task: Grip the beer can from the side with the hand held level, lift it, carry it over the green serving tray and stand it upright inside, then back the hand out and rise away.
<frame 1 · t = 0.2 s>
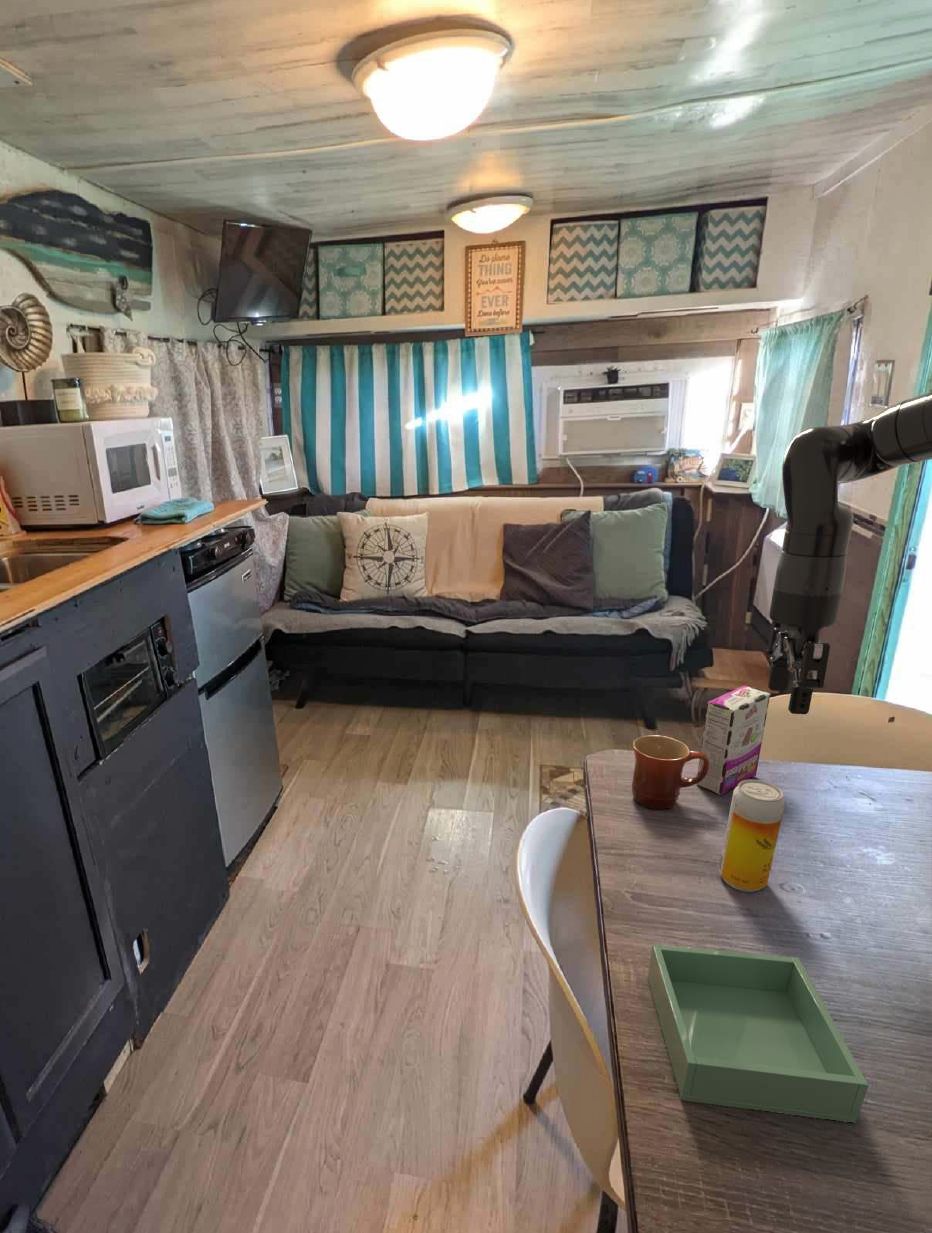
hand: (786, 701, 95), 25 cm above the table, tool pointing down, fingers open, 8 cm apart
beer can: (741, 881, 98), on the table
mug: (663, 801, 117), on the table
green serving tray: (739, 1042, 74), on the table
candy bar box: (724, 781, 122), on the table
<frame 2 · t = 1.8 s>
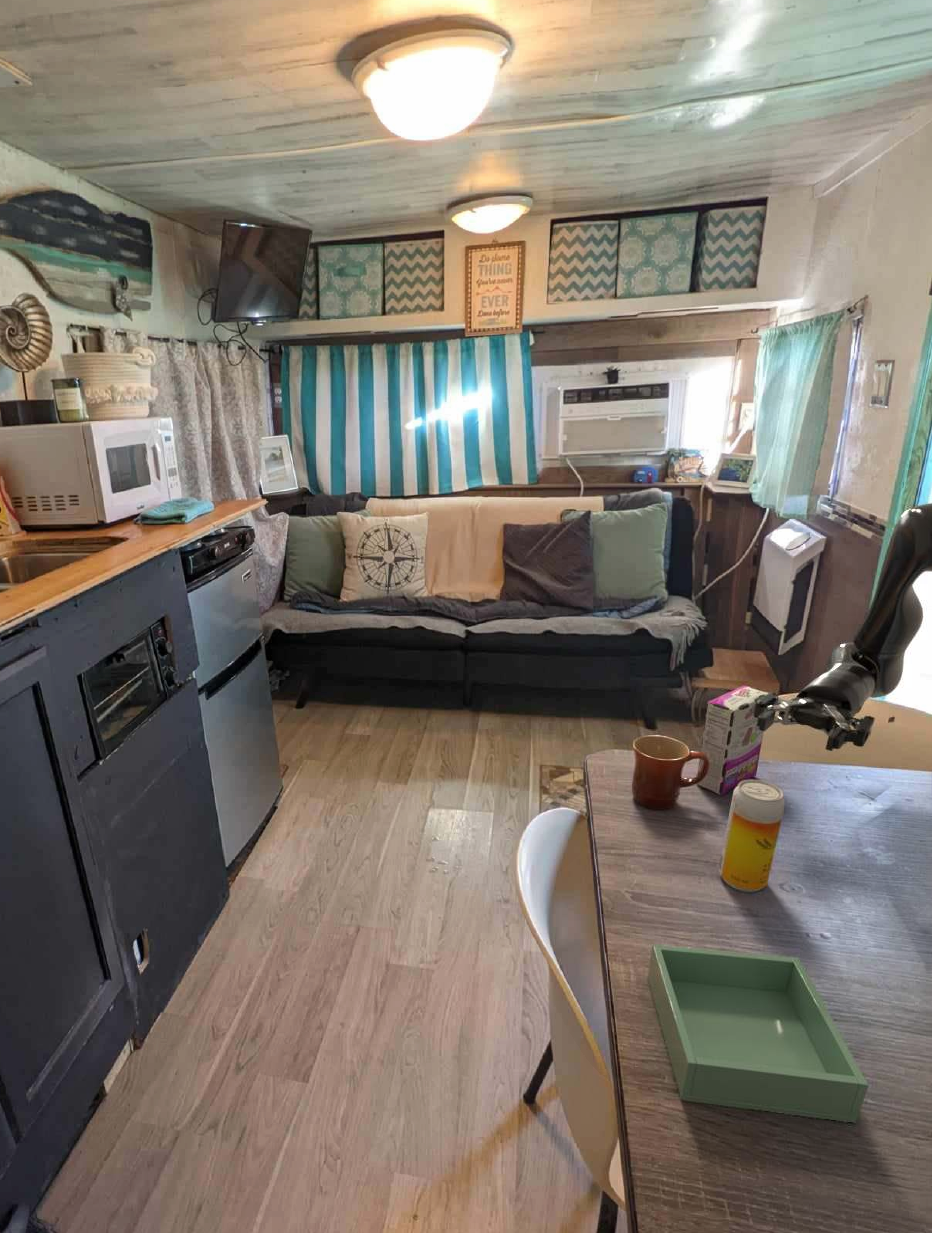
hand: (795, 734, 97), 19 cm above the table, tool horizontal, fingers open, 8 cm apart
nothing on the table moved.
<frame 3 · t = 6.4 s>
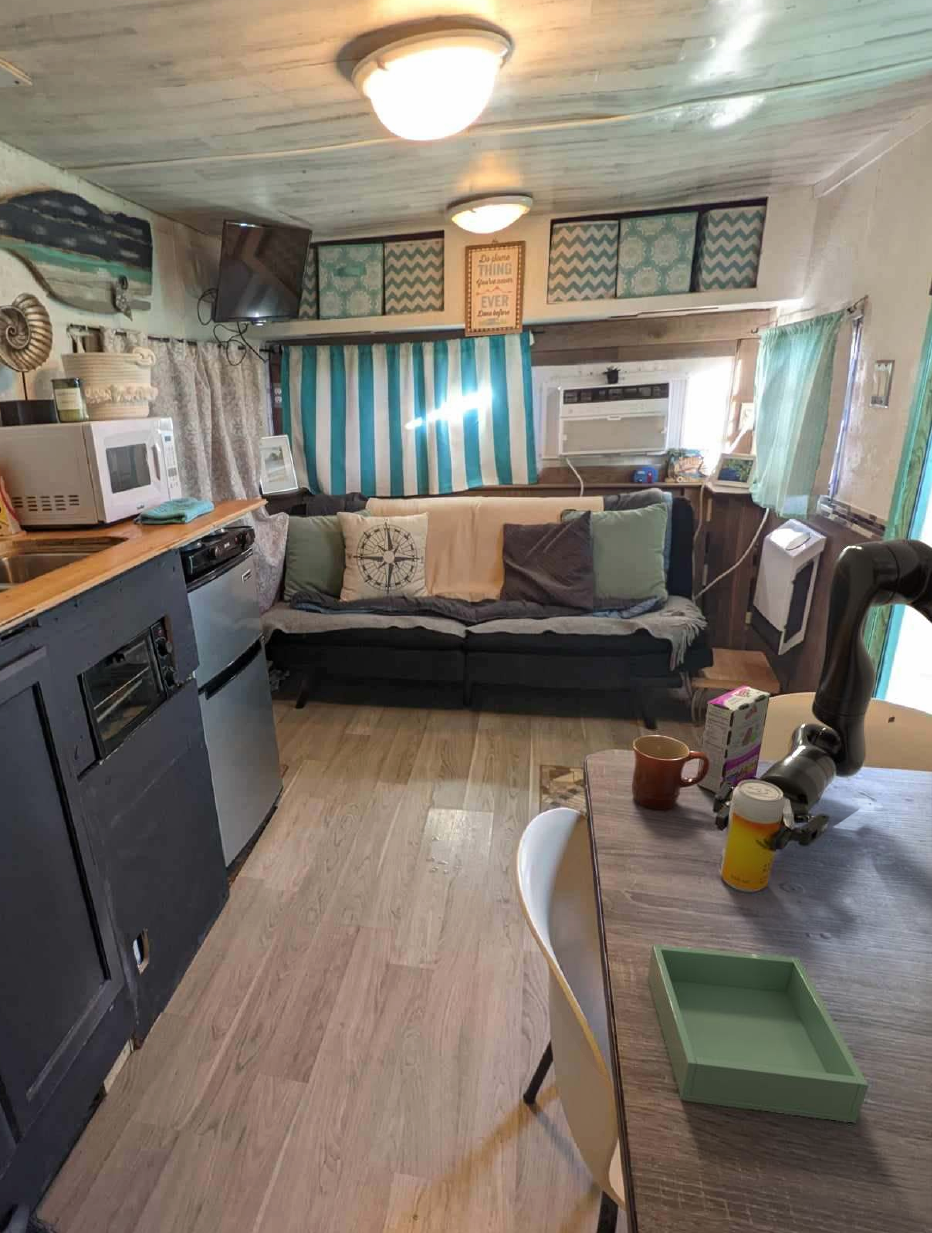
hand: (746, 834, 93), 9 cm above the table, tool horizontal, fingers closed on beer can, 6 cm apart
beer can: (741, 881, 98), on the table, touching gripper
everything else where it was.
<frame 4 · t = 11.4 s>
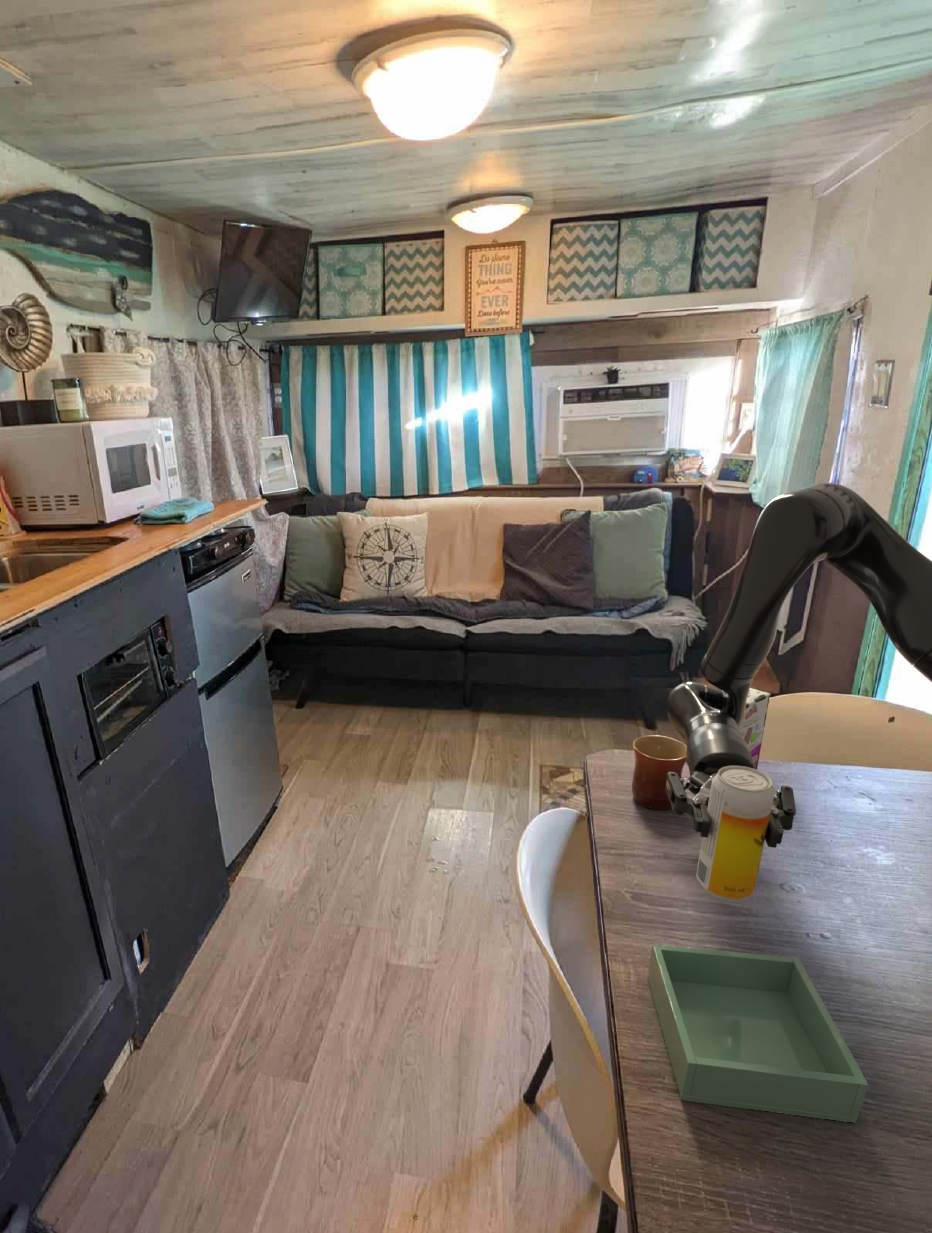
hand: (739, 835, 76), 20 cm above the table, tool horizontal, fingers closed on beer can, 6 cm apart
beer can: (723, 888, 81), point 10 cm above the table, touching gripper
everything else where it was.
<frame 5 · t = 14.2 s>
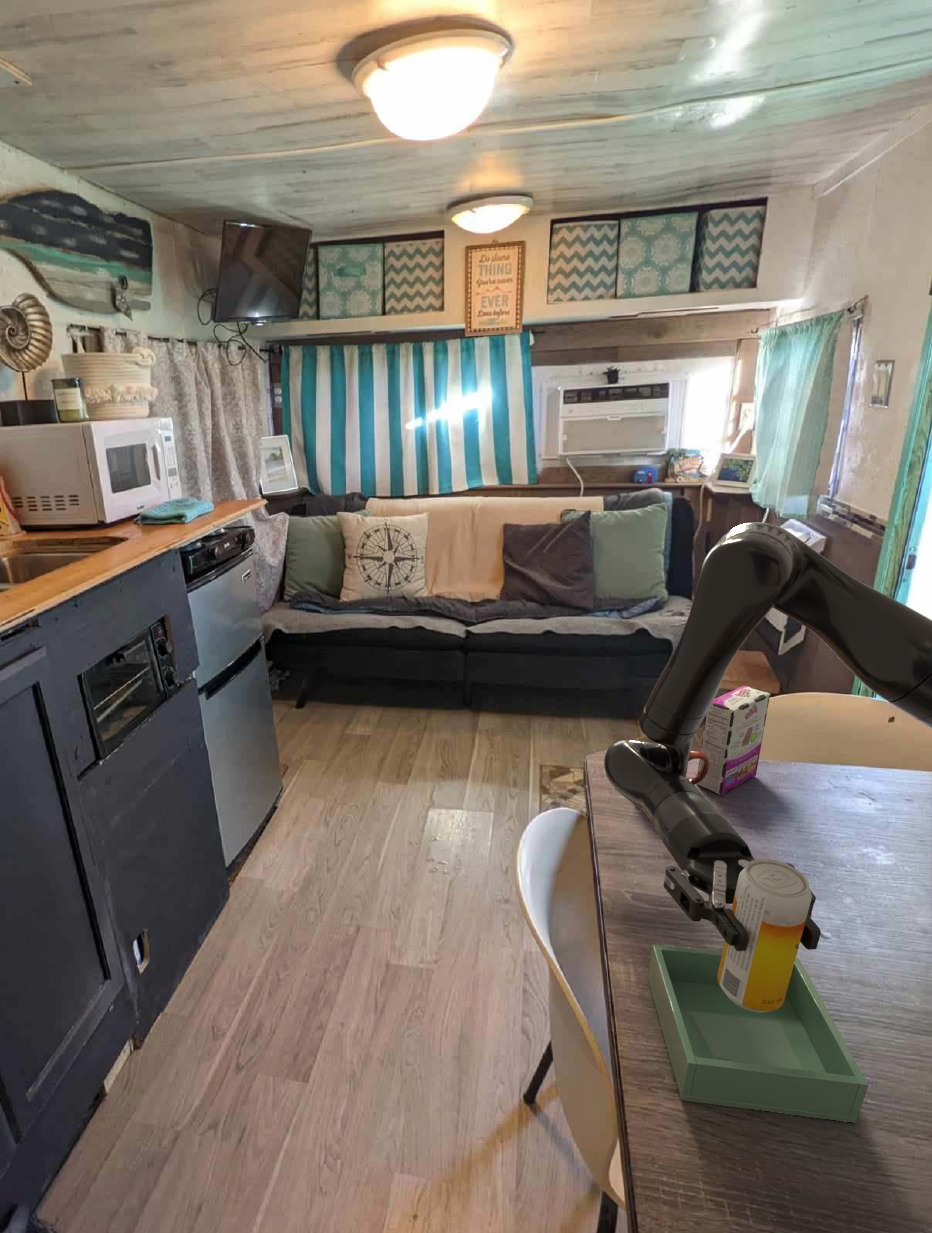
hand: (779, 943, 66), 16 cm above the table, tool horizontal, fingers closed on beer can, 6 cm apart
beer can: (748, 993, 71), point 7 cm above the table, touching gripper
everything else where it was.
when the fingers open (10 cm above the table, at t = 16.4 s): beer can stays where it is, resting on green serving tray.
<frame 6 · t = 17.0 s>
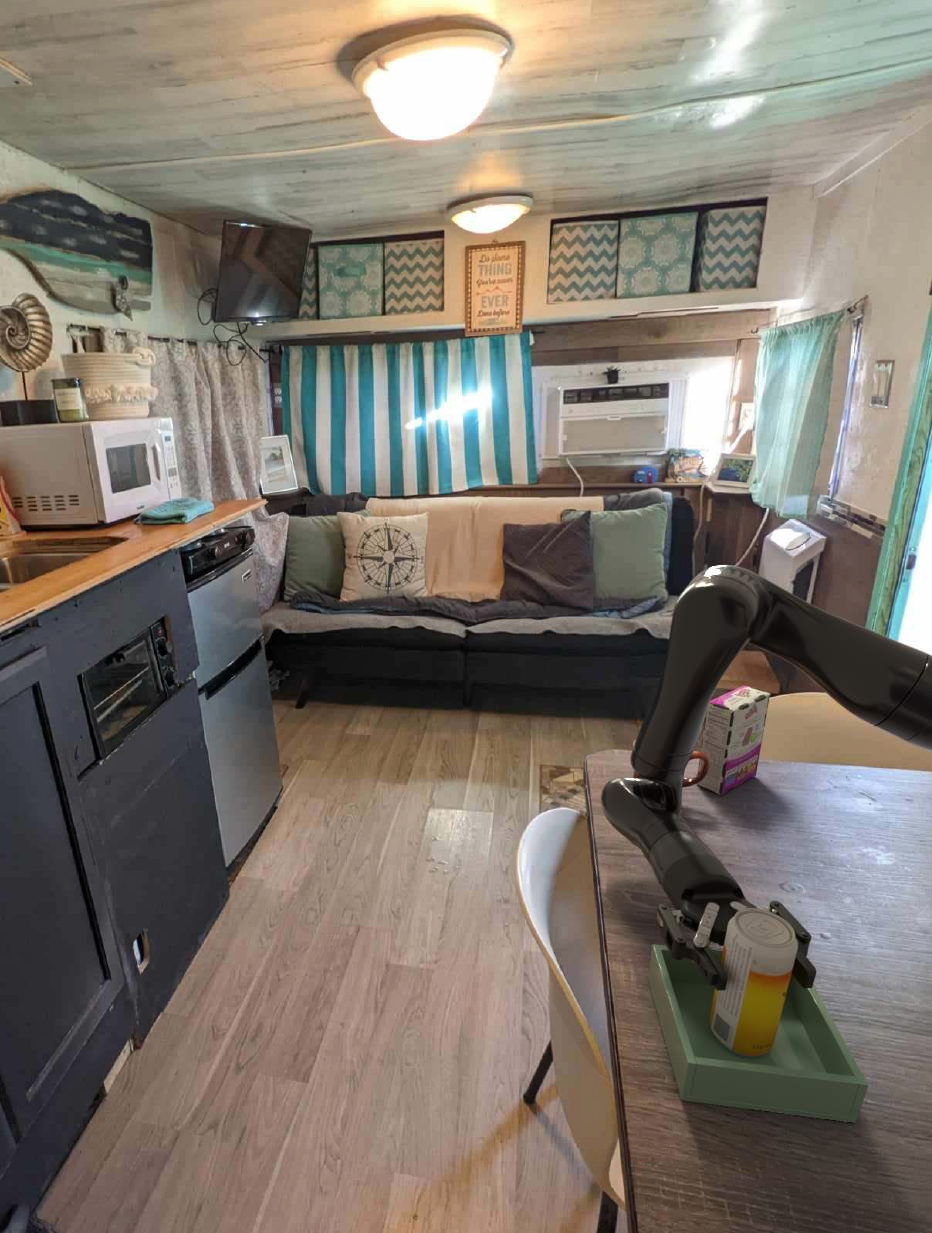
hand: (767, 983, 68), 10 cm above the table, tool horizontal, fingers open, 8 cm apart
beer can: (739, 1037, 74), point 1 cm above the table, touching green serving tray
everything else where it was.
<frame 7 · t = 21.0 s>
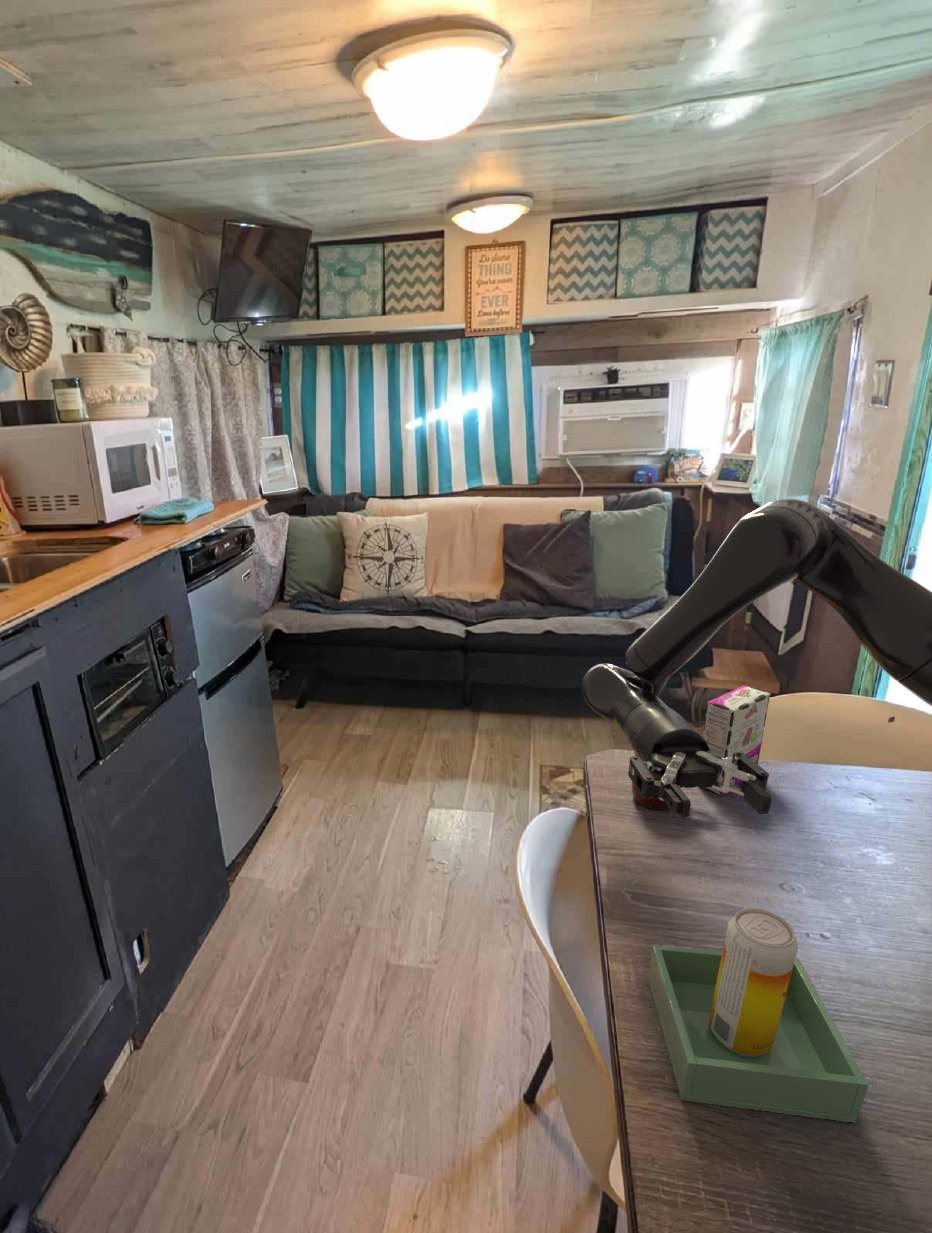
hand: (726, 809, 74), 23 cm above the table, tool horizontal, fingers open, 8 cm apart
nothing on the table moved.
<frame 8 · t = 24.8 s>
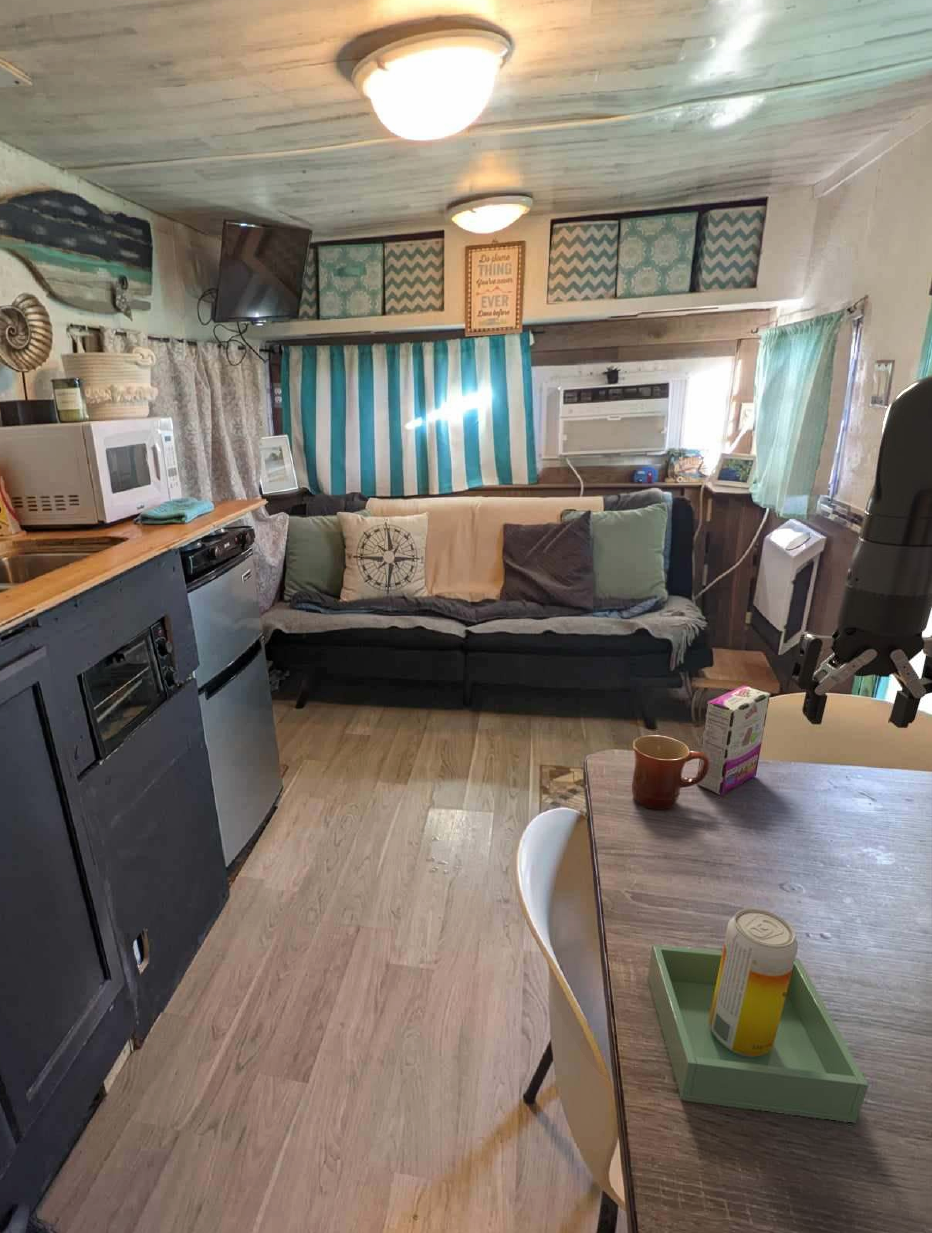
hand: (855, 723, 77), 30 cm above the table, tool pointing down, fingers open, 8 cm apart
nothing on the table moved.
at the end: beer can inside the target area in the green serving tray (0.1 cm from its centre), point 0.6 cm above the green serving tray's base; beer can tilted 0°; the gripper is holding nothing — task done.
